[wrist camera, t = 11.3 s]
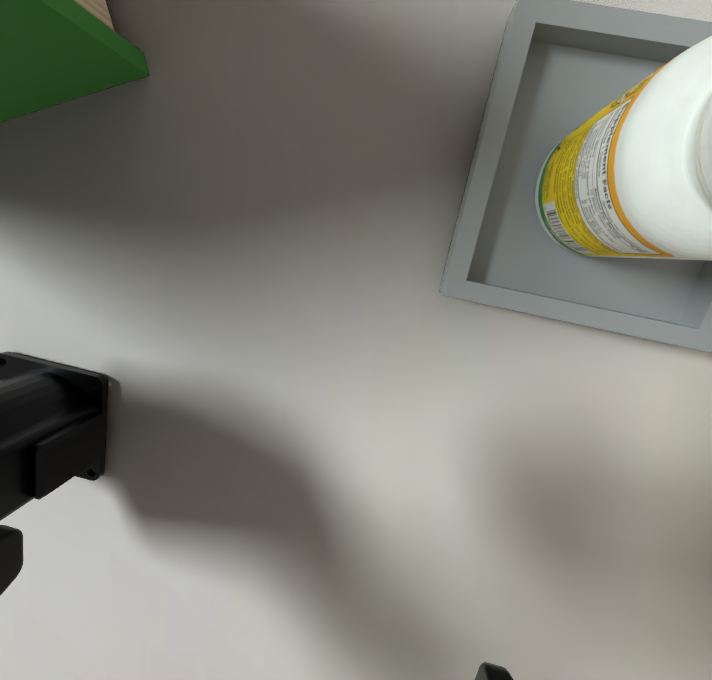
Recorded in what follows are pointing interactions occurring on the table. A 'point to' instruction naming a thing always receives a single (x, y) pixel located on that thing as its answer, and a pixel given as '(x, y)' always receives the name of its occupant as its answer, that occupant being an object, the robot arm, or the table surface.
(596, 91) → the tray
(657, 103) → the supplement bottle
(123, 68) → the hardback book
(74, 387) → the robot arm
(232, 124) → the table surface
